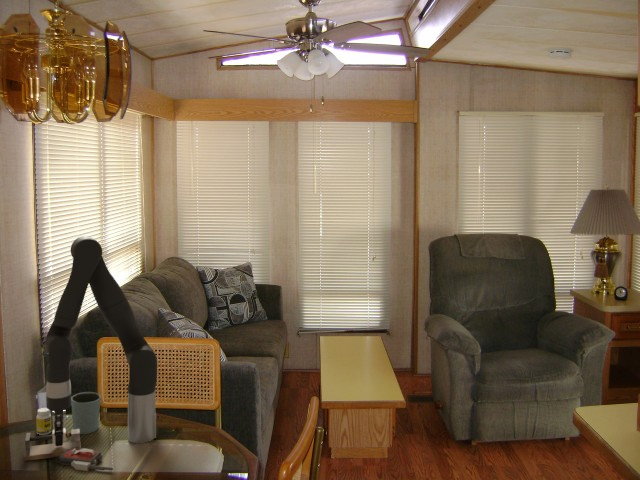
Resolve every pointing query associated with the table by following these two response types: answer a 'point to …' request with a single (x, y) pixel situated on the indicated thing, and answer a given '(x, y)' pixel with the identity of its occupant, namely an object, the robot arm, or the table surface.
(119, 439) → the table surface
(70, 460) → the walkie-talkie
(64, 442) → the sleeve
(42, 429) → the supplement bottle
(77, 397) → the blue-grey cylindrical pot
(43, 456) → the linear slider rail
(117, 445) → the table surface
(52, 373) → the robot arm
